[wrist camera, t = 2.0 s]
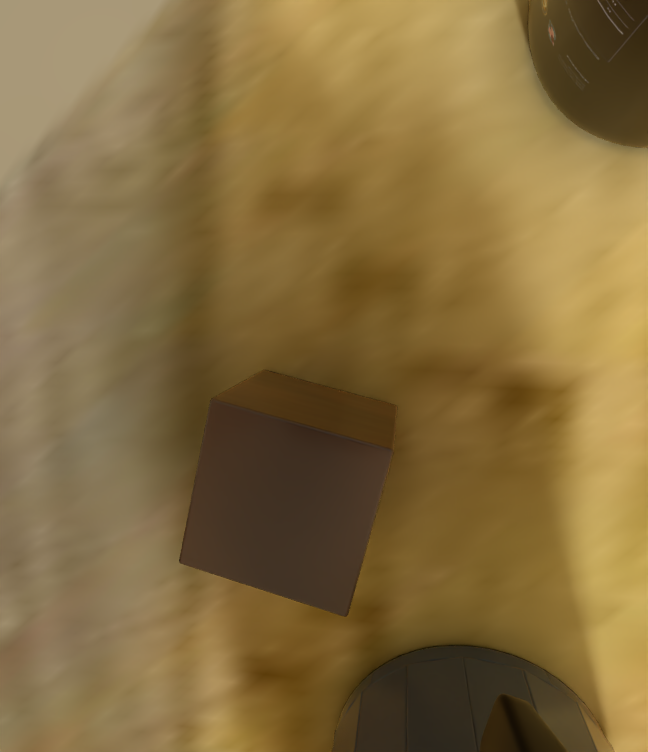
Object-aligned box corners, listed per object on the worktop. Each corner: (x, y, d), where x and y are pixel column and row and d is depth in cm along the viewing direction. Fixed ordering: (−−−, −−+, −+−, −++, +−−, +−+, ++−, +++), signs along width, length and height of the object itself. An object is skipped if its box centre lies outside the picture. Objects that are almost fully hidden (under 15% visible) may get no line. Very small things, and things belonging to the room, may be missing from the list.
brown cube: (236, 493, 17) (177, 563, 12) (263, 368, 16) (209, 398, 11) (362, 531, 16) (346, 618, 12) (397, 405, 15) (394, 450, 11)
